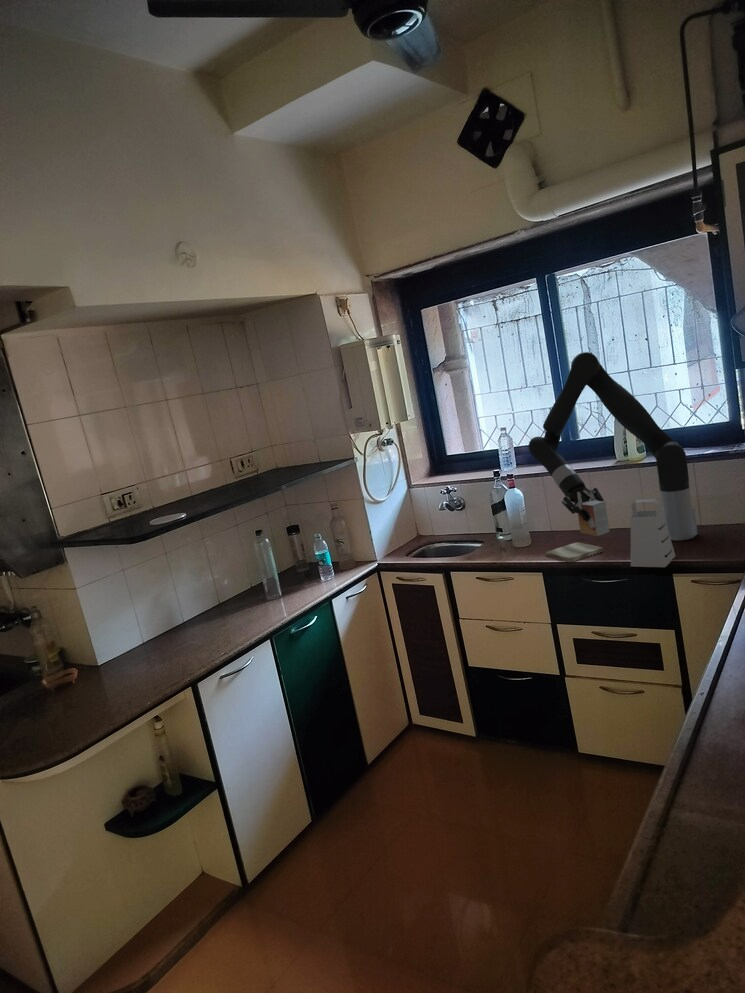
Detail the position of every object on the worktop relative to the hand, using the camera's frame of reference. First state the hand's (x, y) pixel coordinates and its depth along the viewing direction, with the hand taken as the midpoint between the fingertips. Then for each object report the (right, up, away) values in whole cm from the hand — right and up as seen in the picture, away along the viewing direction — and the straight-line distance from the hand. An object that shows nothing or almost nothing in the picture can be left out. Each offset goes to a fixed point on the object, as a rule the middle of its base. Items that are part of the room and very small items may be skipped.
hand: (596, 517), depth 219 cm
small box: (+1, -5, +2) cm, 6 cm away
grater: (+15, -14, -8) cm, 22 cm away
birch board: (-2, -13, +16) cm, 21 cm away
